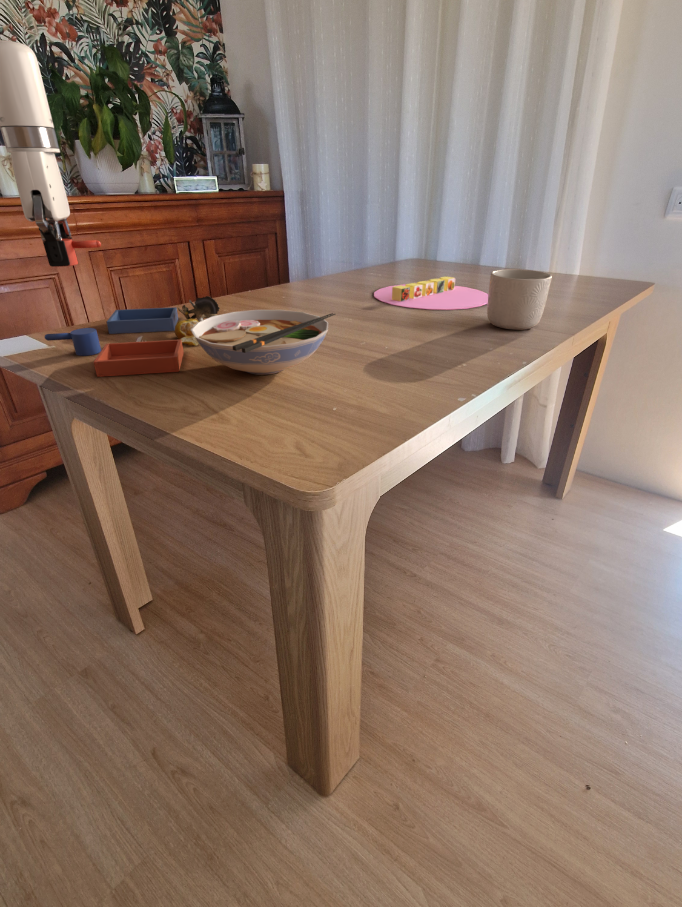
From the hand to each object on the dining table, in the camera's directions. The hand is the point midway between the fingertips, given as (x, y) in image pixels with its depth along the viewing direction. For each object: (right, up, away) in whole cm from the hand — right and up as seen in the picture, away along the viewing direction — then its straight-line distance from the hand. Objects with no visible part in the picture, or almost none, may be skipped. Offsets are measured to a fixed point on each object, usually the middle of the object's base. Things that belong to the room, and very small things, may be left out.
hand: (63, 262), depth 88 cm
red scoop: (+2, 0, +1) cm, 2 cm away
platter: (+74, +10, +49) cm, 89 cm away
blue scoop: (-1, -15, +5) cm, 16 cm away
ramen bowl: (+36, -19, -1) cm, 41 cm away
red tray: (+14, -18, 0) cm, 23 cm away
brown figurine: (+19, -6, +22) cm, 30 cm away
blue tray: (+6, -6, +22) cm, 23 cm away
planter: (+87, -5, +23) cm, 90 cm away
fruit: (+19, -11, +13) cm, 26 cm away
